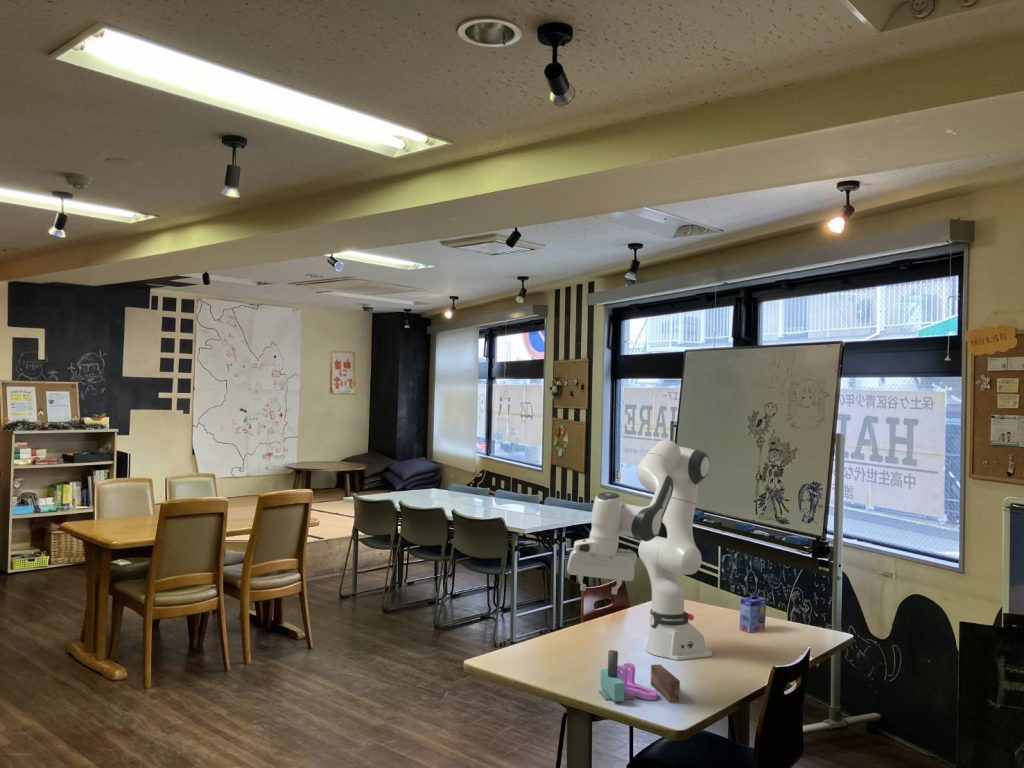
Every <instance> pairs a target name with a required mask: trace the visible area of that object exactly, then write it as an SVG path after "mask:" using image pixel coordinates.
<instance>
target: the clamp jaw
mask: <svg viewBox="0 0 1024 768" xmlns="http://www.w3.org/2000/svg"><path fill="white" fill-rule="evenodd" d="M607 652H608V653H607V655H608V656H607V668H600V688H602V690H603V691H606V693H607V694H608V695H609V696H610V697H611V698H612V699H613V700H612V701H613V702H624V701H625V699H624V687H625V683H624V682H623V681H622V680H621V679H620V678H619V677H618V676H617V669H618V666H619V664H618V663H619V658H618V657H619V652H618V651H617V650H616V649H615V650H613V649H611V650H608V651H607Z"/></svg>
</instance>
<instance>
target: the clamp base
mask: <svg viewBox="0 0 1024 768" xmlns="http://www.w3.org/2000/svg"><path fill="white" fill-rule="evenodd" d="M650 686H652V688H654V690H655V691H657V692H658V694H660V695H661V696H662V697H663V698H664V699H665V700H666V701H667V702H668V703H669V704H670V703H680V695H681V694H680V689H681V681H680V680H679V679H678V678H677V677H676V676H675V675H673V673H671V672H670V671H669V670H667V668H665V667H664V666H663V665H662V664H651V665H650ZM598 693H599V695H600V696H601V697H602V698H603V700H605V701H613V699H612V698H611V697H610V696H609V695H608V694H607V693H606V691H605V690H599V691H598ZM635 699H636V696H634V695H631V694H628V693H626V692H624V700H635Z"/></svg>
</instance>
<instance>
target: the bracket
mask: <svg viewBox="0 0 1024 768" xmlns="http://www.w3.org/2000/svg"><path fill="white" fill-rule="evenodd" d="M617 676H618V677H619V678H620V679H621V680H622V681H623V682H624V683H625V687H624V692H626V693H628V694H631V695H633V696H634V697H636V698H637V697H638V698H640V699H643V700H646V701H656V700H658V698H659V697H658V696H659V692H658V691H657V690H656V689H652V688H649V687H647V686H643V685H641V684H638V683H636V682H635V677H636V667H635V665H634V664H633V662H629V661H628V662H626V663H623V664H620V665H618V669H617Z"/></svg>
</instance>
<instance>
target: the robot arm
mask: <svg viewBox="0 0 1024 768" xmlns="http://www.w3.org/2000/svg"><path fill="white" fill-rule="evenodd" d="M710 465H711V463H710V457H709V456H708V454H707V452H704V451H702V450H700V449H693V448H689V447H686V446H685V447H684V446H678V444H677V443H675V442H674V441H673V440H670V439H662V440H660V441H658V442H656V443H655V444H654V445H652V447H650V449H649V450H648V451H647V452H646V453H645V454H644V456H643V457H642V458H641V460H640V461H639V463H638V466H637V468H636V475H637V479H638V481H639V482H640V485H641V486H643V487H644V488H645V489H646V490H648V491H650V492H652V493H654V494H653V497H652V498H651V501H650V504H649V505H645V506H640V505H634V504H629V503H626V502H624V501H622V497H621V495H620V494H618V493H616V492H609V491H607V492H605V491H604V492H599V493H598V494H596V496H595V498H594V501H593V505H592V506H593V507H592V511H591V518H590V523H591V529H590V532H589V536H588V537H589V538H588V537H587V538H583V539H577V540H575V541H574V544H573V549H572V550H571V551H570V553H569V558H568V562H567V566H566V571H567V573H568V575H570V576H577V579H578V582H579V583H580V591H582V592H586V590H587V589H586V588H587V585H586V584H585V583H583V580H584V577H589V578H597V579H607V580H616V581H615V582H616V585H615V586H612V587H611V595H615V596H616V595H618V589H620V587H621V586H622V584H623V581H625V582H633V580H634V579H635V564H636V563H637V558H638V557H639V559H640V561H642V563H643V565H644V566H645V568H646V570H647V574H648V577H649V580H650V586H651V609H650V611H649V612H650V613H649V614H650V615H649V624H650V629H649V634H648V635H649V636H648V641H647V644H646V647H645V651H646V652H648V653H649V654H651V655H653V656H658V657H662V658H666V659H667V658H668V659H671V660H674V661H682V660H691V659H698V658H707V657H712V656H713V653H712V650H711V649H710V647H708V646H706V641H705V637H704V635H703V633H702V632H701V631H699V629H697V628H696V627H695V626H694V625H693V624H691V623H690V622H691V621H694V619H695V615H693V614H692V613H688V612H686V611H685V589H684V587H683V585H682V583H680V581H679V580H678V578H677V577H678V576H677V575H681V576H682V575H683V576H684V575H685V576H687V575H689V576H690V575H693V574H696V573H697V572H698V571H699V569H700V568H701V565H702V561H703V559H702V554H701V551H700V550H699V548H698V547H697V545H696V542H695V539H694V534H693V533H694V532H693V523H694V517H695V511H696V506H697V501H698V493H699V483H700V482H702V481H703V480H704V479H705V478H706V477H707V476H708V474H709V472H710ZM662 524H663V525H664V527H665V529H666V537H662V536H658V535H659V533H660V530H661V527H662ZM620 535H623V536H626V537H632V538H635V539H638V540H640V541H641V542H640V543H639V545H638V549H637V550H638V552H637V553H638V555H637V553H636V552H635V551H633V549H629V548H627V549H625V548H622V547H621V548H619V540H620V538H619V536H620ZM676 574H677V575H676ZM689 621H690V622H689Z"/></svg>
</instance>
